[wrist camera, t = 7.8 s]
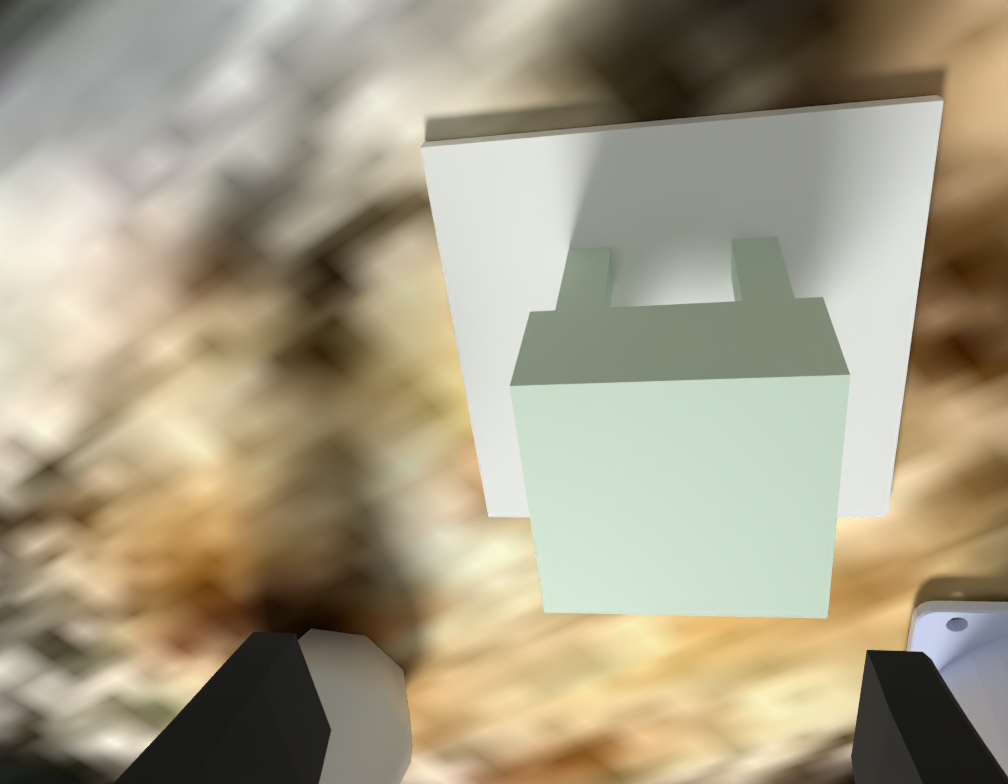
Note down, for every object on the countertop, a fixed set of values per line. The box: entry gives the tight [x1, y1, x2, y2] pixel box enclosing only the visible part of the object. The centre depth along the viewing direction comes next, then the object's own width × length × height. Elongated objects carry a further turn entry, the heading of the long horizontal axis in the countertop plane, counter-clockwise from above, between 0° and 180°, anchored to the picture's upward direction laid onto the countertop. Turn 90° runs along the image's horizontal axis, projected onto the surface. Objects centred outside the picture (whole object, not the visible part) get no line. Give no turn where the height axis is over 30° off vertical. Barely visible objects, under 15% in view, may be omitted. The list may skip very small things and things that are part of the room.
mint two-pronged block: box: [510, 237, 850, 618], centre depth 17 cm, size 5×5×6 cm
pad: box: [420, 95, 944, 517], centre depth 19 cm, size 10×10×1 cm
